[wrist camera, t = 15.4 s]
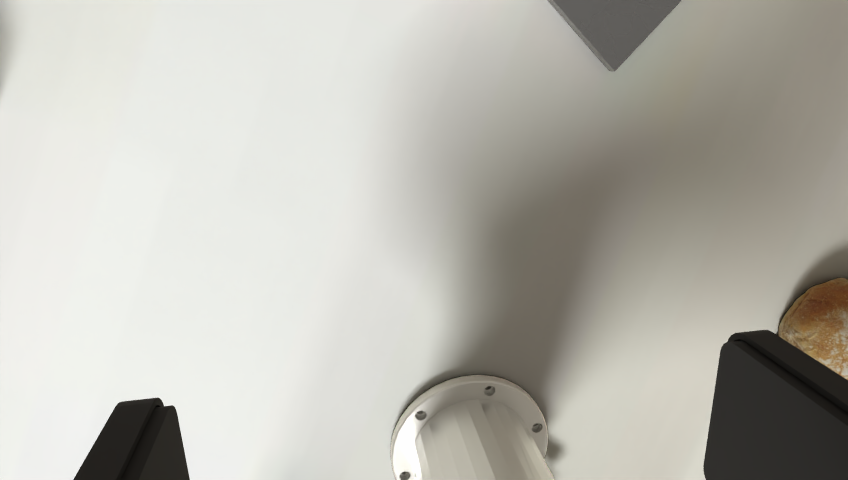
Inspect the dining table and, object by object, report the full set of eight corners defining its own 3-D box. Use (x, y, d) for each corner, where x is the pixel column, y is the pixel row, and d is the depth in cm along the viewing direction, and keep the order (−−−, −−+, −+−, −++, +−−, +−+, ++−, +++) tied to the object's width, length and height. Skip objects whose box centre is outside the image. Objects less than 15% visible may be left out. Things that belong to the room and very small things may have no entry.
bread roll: (744, 286, 51) (770, 347, 44) (881, 243, 47) (932, 304, 40) (780, 365, 55) (809, 433, 48) (911, 332, 50) (963, 402, 43)
